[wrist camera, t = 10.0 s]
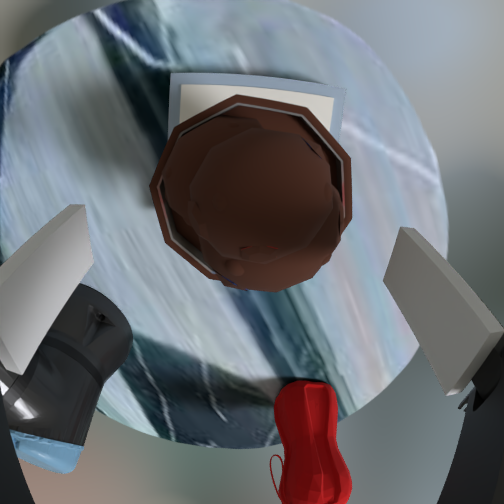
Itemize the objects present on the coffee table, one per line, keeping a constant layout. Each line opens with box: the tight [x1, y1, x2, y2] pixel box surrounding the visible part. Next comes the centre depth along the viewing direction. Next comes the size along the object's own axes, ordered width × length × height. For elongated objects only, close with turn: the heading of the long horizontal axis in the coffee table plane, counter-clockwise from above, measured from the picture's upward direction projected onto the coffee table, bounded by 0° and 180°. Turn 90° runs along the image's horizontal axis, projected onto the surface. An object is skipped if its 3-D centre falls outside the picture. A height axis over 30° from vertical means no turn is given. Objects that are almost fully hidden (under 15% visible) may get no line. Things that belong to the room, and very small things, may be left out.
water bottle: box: [270, 380, 352, 504], centre depth 36 cm, size 9×11×25 cm
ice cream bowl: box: [149, 94, 352, 292], centre depth 18 cm, size 11×11×15 cm
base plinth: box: [168, 73, 346, 143], centre depth 26 cm, size 14×14×4 cm
